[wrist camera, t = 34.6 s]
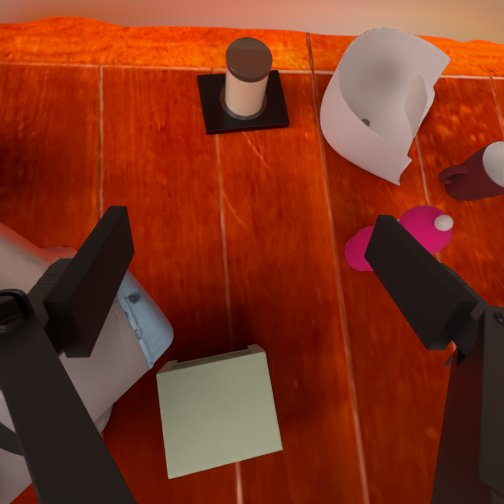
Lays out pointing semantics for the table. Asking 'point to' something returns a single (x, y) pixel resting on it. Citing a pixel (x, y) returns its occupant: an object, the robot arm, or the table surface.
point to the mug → (477, 174)
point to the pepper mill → (416, 223)
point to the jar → (246, 75)
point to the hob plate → (227, 121)
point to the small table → (217, 410)
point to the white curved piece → (380, 99)
